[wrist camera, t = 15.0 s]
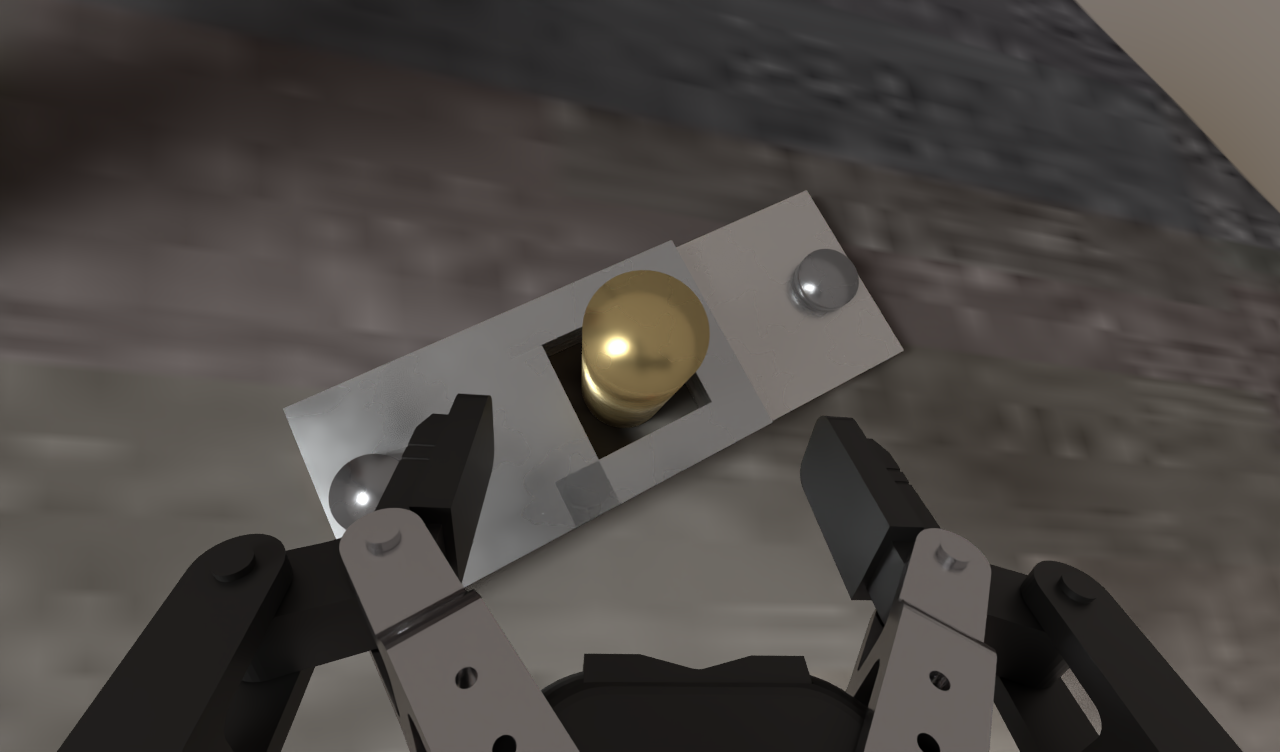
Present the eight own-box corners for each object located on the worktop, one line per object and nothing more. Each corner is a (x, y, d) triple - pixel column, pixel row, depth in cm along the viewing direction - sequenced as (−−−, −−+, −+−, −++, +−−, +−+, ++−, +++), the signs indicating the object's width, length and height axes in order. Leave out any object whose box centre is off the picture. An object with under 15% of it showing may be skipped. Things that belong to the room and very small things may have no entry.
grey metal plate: (397, 619, 22) (367, 641, 19) (312, 416, 23) (271, 405, 20) (889, 356, 27) (930, 338, 24) (797, 202, 28) (824, 166, 25)
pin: (604, 442, 24) (618, 415, 16) (567, 367, 25) (560, 300, 16) (679, 404, 25) (732, 359, 16) (641, 332, 26) (672, 251, 17)
